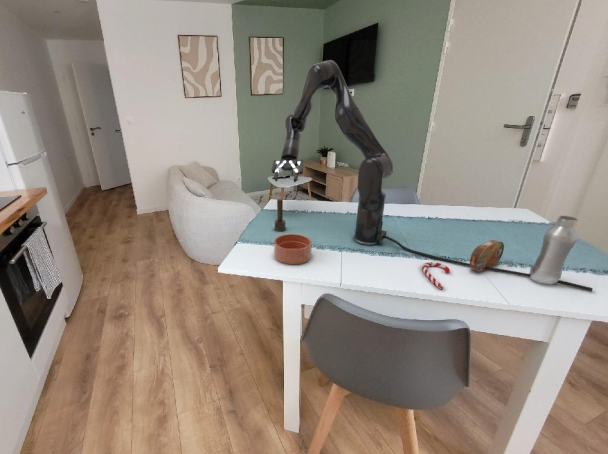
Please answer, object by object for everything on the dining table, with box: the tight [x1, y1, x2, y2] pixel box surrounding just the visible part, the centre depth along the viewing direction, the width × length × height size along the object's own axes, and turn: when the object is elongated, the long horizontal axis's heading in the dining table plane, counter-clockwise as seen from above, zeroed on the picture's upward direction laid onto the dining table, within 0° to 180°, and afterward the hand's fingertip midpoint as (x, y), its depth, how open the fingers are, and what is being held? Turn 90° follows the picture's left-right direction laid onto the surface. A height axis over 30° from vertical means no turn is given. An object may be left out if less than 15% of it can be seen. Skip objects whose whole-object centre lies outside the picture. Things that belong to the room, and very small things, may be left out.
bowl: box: [273, 233, 313, 265], centre depth 105 cm, size 13×13×6 cm
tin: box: [468, 239, 505, 273], centre depth 93 cm, size 15×3×8 cm, turn 117°
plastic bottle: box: [528, 215, 579, 285], centre depth 82 cm, size 6×7×20 cm
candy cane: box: [421, 261, 451, 290], centre depth 90 cm, size 8×1×15 cm
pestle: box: [274, 198, 286, 232], centre depth 127 cm, size 5×5×14 cm
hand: (285, 180), depth 131 cm, fingers open, 8 cm apart
